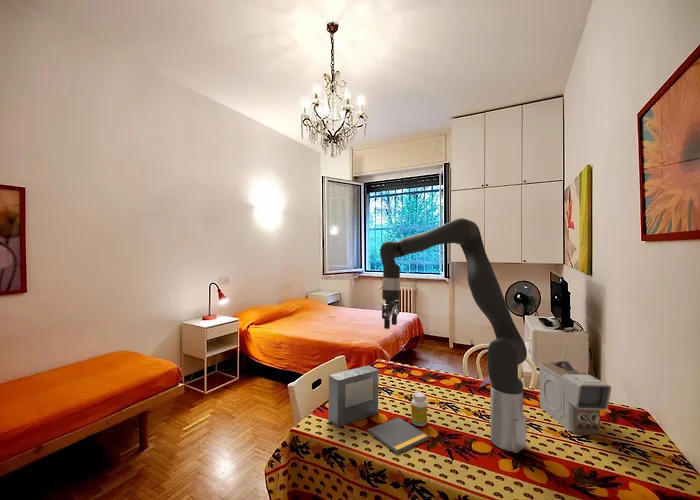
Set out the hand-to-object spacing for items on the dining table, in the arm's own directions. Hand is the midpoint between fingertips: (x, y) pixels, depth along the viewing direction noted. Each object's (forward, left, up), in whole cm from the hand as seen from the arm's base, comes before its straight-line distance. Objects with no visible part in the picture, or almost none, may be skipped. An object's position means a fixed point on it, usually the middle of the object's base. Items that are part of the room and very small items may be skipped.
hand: (390, 326), depth 134 cm
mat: (-24, +18, -29) cm, 42 cm away
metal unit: (-6, +23, -29) cm, 37 cm away
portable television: (-52, -41, -29) cm, 72 cm away
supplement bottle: (-22, +6, -29) cm, 37 cm away
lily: (-21, -42, -29) cm, 55 cm away
